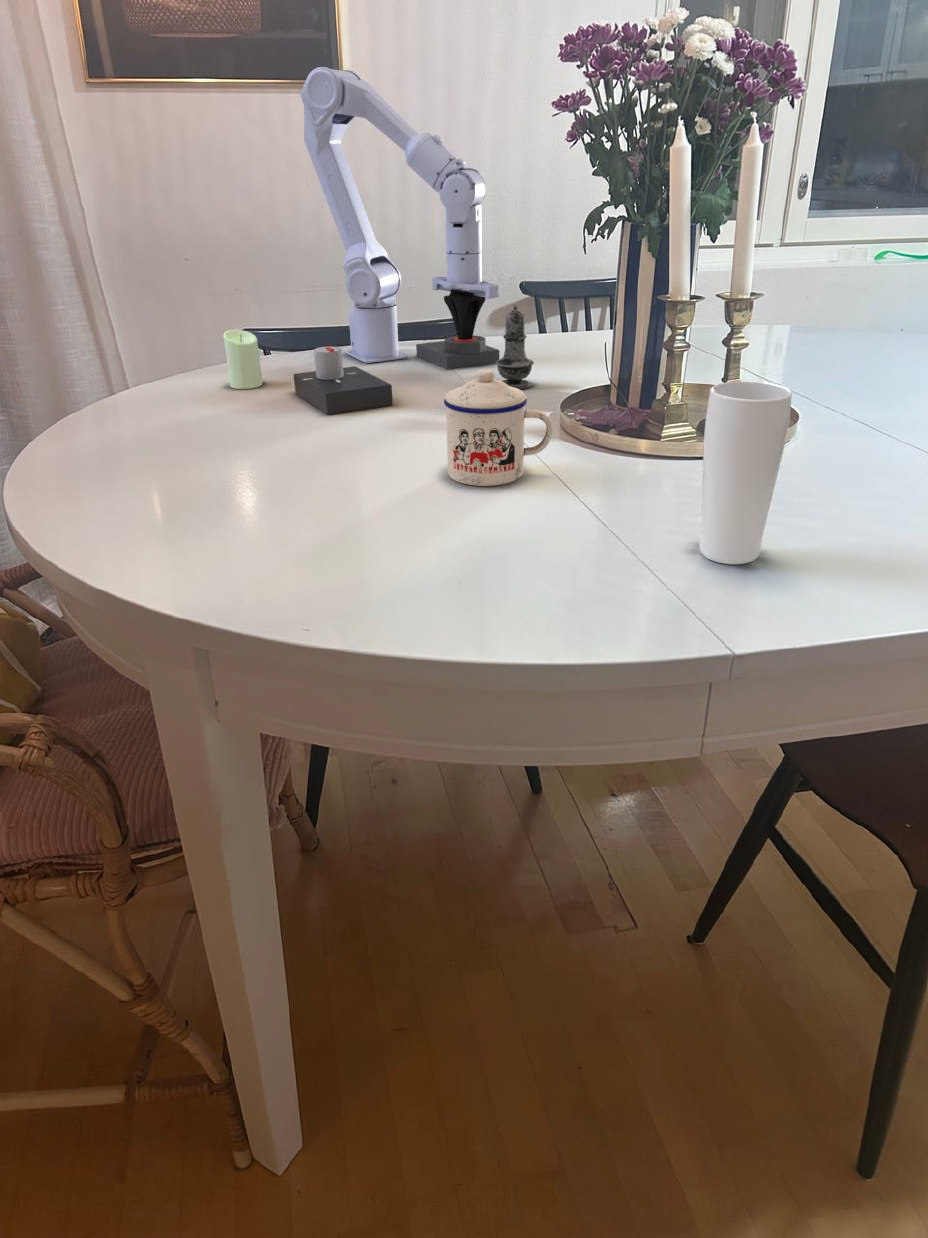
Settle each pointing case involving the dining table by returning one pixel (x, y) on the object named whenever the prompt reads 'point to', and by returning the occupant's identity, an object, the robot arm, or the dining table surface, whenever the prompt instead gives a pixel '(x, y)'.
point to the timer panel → (344, 391)
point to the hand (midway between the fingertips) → (465, 338)
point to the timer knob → (328, 363)
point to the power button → (465, 340)
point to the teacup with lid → (488, 431)
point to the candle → (242, 359)
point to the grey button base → (458, 353)
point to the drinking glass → (741, 466)
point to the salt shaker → (515, 352)
